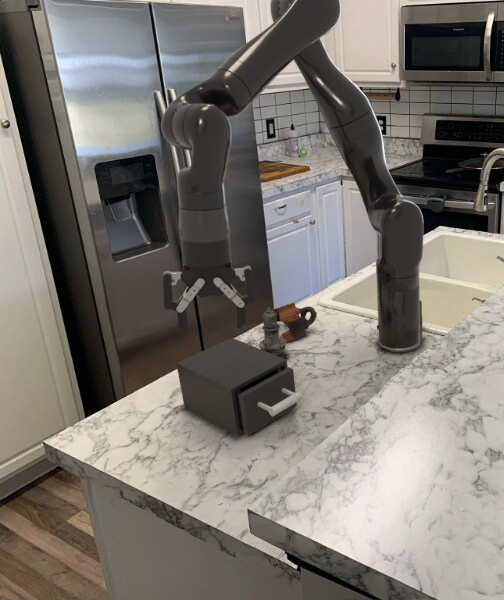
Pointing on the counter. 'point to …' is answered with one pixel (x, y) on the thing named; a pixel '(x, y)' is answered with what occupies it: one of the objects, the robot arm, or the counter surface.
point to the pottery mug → (295, 320)
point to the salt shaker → (272, 335)
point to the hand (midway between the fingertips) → (212, 328)
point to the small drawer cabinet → (223, 380)
